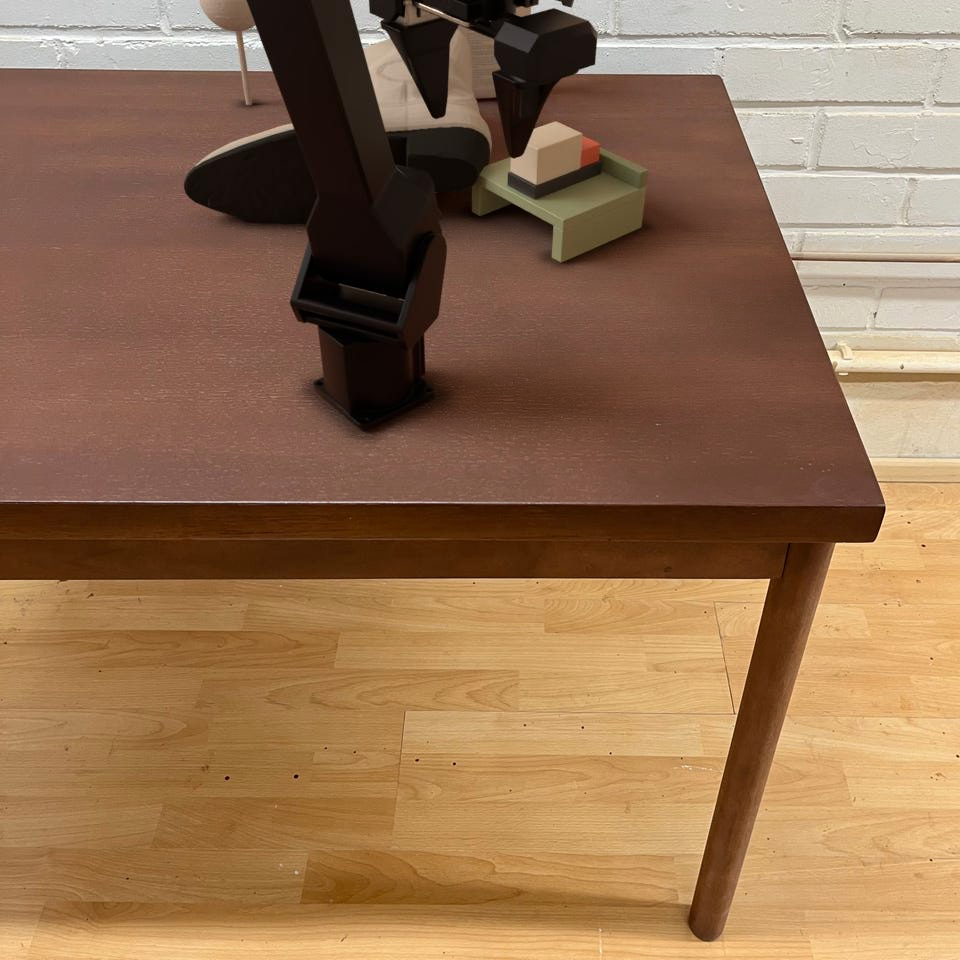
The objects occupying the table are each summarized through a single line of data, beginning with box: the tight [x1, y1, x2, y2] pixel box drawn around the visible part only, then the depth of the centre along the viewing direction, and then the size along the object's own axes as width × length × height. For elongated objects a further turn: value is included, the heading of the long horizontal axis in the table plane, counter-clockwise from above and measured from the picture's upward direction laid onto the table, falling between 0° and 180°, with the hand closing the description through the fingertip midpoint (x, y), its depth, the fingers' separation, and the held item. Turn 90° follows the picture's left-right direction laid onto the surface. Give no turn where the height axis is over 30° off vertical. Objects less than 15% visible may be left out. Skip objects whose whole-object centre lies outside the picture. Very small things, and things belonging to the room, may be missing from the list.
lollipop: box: [198, 0, 256, 106], centre depth 106 cm, size 7×7×15 cm
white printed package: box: [457, 6, 532, 100], centre depth 110 cm, size 10×4×12 cm, turn 102°
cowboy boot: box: [183, 30, 493, 225], centre depth 96 cm, size 10×28×25 cm
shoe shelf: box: [471, 147, 650, 263], centre depth 90 cm, size 10×12×6 cm
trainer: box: [507, 120, 602, 200], centre depth 87 cm, size 8×4×4 cm, turn 130°
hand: (476, 136), depth 76 cm, fingers open, 9 cm apart
